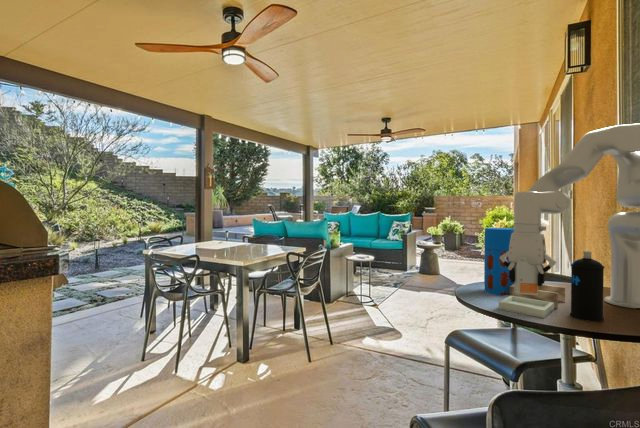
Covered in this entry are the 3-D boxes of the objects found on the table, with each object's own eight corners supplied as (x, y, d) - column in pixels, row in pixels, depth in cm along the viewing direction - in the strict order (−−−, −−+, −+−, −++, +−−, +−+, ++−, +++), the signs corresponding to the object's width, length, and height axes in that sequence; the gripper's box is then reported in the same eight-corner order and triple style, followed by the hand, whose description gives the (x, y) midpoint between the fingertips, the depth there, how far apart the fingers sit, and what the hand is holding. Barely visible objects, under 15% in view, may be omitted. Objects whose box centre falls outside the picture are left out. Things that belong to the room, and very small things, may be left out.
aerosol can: (604, 317, 105) (605, 251, 104) (603, 323, 99) (604, 254, 98) (571, 311, 110) (572, 249, 110) (568, 317, 104) (568, 251, 104)
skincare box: (518, 294, 111) (518, 257, 111) (514, 291, 116) (514, 255, 115) (539, 295, 110) (539, 258, 110) (534, 292, 114) (534, 256, 114)
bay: (565, 301, 122) (565, 287, 122) (557, 308, 114) (557, 293, 113) (519, 294, 132) (519, 281, 132) (509, 300, 124) (509, 286, 124)
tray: (554, 309, 112) (554, 302, 112) (544, 318, 104) (544, 310, 104) (510, 301, 122) (510, 295, 122) (498, 309, 113) (498, 302, 113)
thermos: (519, 296, 129) (520, 229, 129) (488, 295, 131) (489, 229, 131) (509, 289, 140) (510, 227, 139) (481, 288, 142) (481, 227, 141)
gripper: (561, 230, 109) (560, 286, 109) (502, 227, 121) (501, 278, 122) (556, 231, 104) (555, 290, 104) (494, 228, 116) (494, 281, 116)
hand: (526, 283), depth 113 cm, fingers closed on skincare box, 7 cm apart
